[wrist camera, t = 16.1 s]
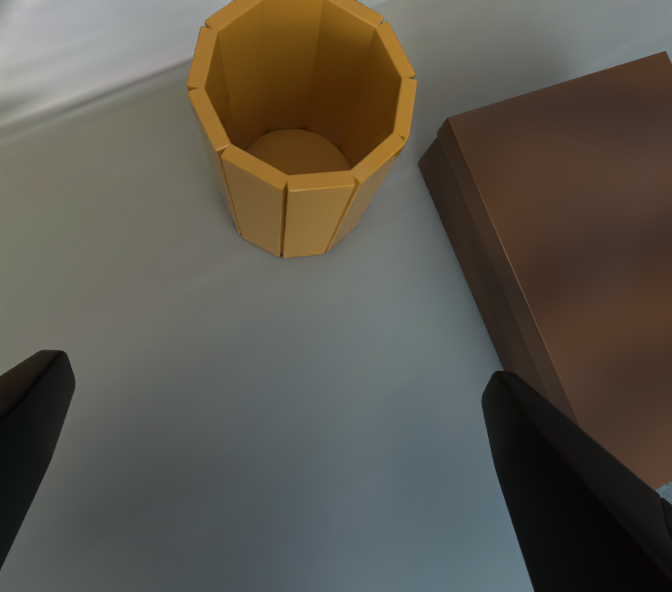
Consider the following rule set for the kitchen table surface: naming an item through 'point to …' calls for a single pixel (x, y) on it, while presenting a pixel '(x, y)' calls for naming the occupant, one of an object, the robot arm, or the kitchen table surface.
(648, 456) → the brown wooden board
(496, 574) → the kitchen table surface
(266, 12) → the cup
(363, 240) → the kitchen table surface
